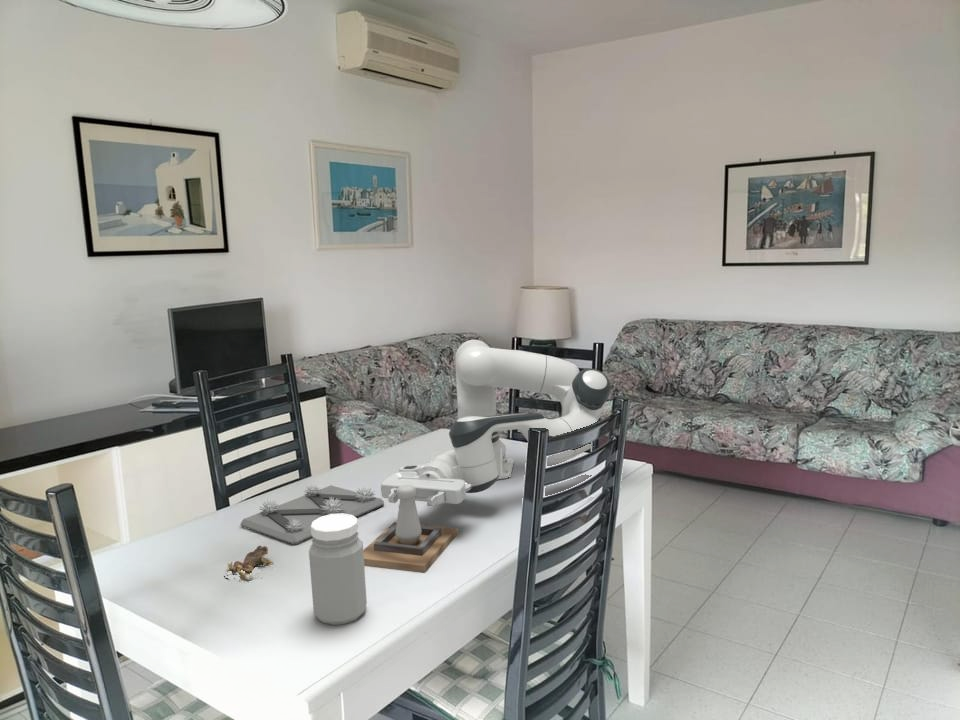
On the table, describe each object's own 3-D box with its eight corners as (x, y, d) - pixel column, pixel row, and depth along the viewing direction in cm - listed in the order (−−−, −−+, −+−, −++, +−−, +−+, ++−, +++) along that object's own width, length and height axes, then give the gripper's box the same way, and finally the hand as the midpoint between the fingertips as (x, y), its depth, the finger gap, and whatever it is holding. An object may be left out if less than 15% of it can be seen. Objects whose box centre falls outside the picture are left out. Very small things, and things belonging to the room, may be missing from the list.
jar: (305, 625, 127) (297, 531, 124) (326, 598, 137) (319, 510, 134) (356, 629, 126) (350, 533, 123) (374, 601, 135) (368, 512, 132)
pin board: (394, 527, 170) (394, 515, 169) (457, 534, 165) (457, 521, 164) (355, 564, 151) (354, 551, 151) (424, 572, 146) (424, 558, 146)
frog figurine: (247, 555, 159) (246, 539, 158) (290, 563, 154) (289, 547, 153) (209, 577, 148) (207, 560, 148) (253, 587, 143) (252, 569, 143)
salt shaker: (411, 549, 154) (408, 492, 152) (390, 544, 157) (387, 488, 155) (427, 539, 159) (424, 484, 157) (406, 535, 162) (403, 480, 160)
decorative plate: (331, 492, 198) (329, 467, 196) (386, 507, 185) (385, 481, 184) (238, 528, 174) (235, 501, 173) (294, 548, 161) (291, 519, 160)
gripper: (474, 496, 169) (454, 518, 156) (396, 490, 175) (371, 511, 162) (473, 471, 168) (452, 491, 155) (395, 466, 174) (369, 484, 161)
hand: (410, 501), depth 159 cm, fingers open, 8 cm apart
